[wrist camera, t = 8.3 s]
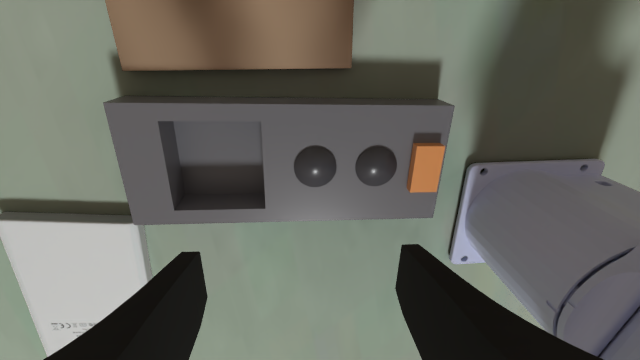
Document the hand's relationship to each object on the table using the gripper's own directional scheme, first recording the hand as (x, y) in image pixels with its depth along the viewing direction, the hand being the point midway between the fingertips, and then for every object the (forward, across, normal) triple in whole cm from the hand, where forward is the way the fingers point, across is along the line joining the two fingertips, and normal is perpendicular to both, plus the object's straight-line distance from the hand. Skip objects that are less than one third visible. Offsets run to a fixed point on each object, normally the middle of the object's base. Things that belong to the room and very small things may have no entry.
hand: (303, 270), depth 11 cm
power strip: (+10, +1, -1) cm, 10 cm away
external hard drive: (+10, +15, +9) cm, 20 cm away
